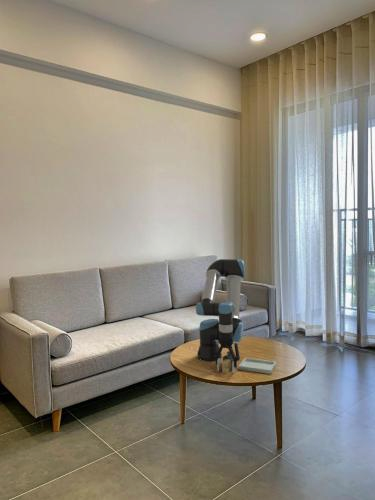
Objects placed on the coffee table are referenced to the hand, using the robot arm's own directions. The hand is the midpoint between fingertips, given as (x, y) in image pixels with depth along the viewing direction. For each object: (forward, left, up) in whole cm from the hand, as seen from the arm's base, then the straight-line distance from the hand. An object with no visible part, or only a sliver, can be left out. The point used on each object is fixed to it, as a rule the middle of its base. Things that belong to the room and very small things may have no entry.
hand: (226, 371), depth 212 cm
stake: (0, +7, 0) cm, 7 cm away
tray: (+14, +13, 0) cm, 20 cm away
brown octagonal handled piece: (0, +4, 0) cm, 4 cm away
